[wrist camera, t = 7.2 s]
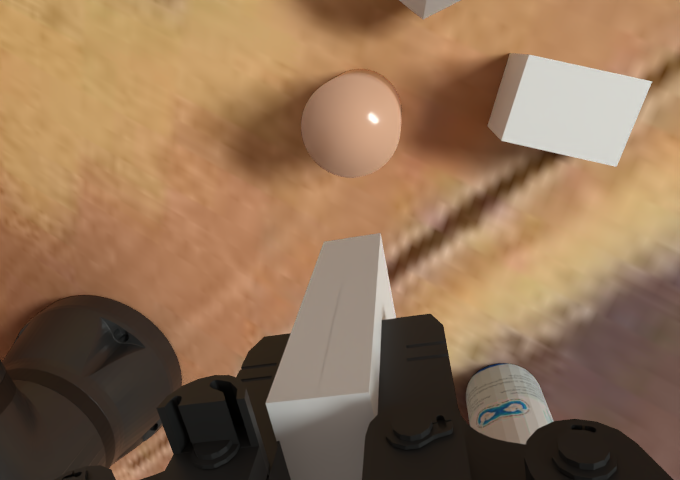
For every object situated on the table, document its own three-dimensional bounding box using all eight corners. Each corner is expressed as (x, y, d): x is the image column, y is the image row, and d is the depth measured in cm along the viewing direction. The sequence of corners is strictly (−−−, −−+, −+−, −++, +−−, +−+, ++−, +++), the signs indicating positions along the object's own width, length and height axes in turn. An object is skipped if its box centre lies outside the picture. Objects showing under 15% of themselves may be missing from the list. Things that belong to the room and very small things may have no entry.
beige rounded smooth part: (328, 159, 39) (312, 184, 32) (311, 77, 37) (291, 87, 30) (407, 146, 38) (407, 169, 31) (394, 61, 36) (392, 67, 29)
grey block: (487, 126, 37) (501, 140, 31) (509, 52, 35) (529, 54, 29) (584, 148, 36) (616, 166, 31) (612, 75, 34) (652, 81, 29)
